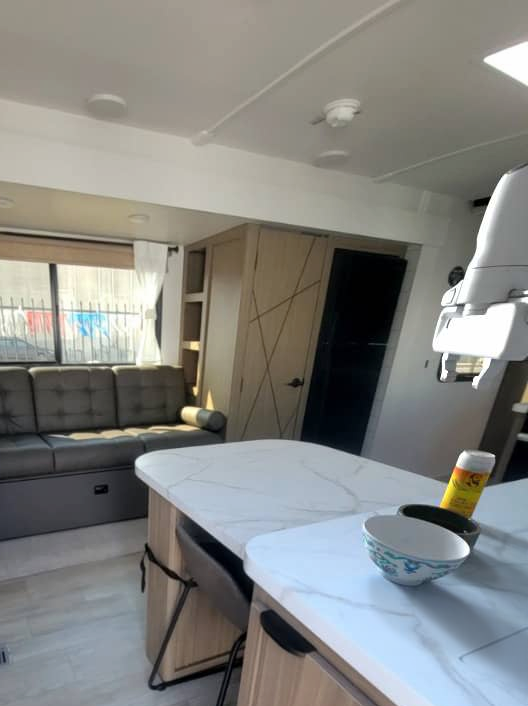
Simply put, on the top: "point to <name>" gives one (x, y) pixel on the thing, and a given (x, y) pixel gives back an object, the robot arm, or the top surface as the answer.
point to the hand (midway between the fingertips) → (462, 385)
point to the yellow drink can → (468, 481)
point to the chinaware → (412, 548)
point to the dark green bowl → (444, 520)
